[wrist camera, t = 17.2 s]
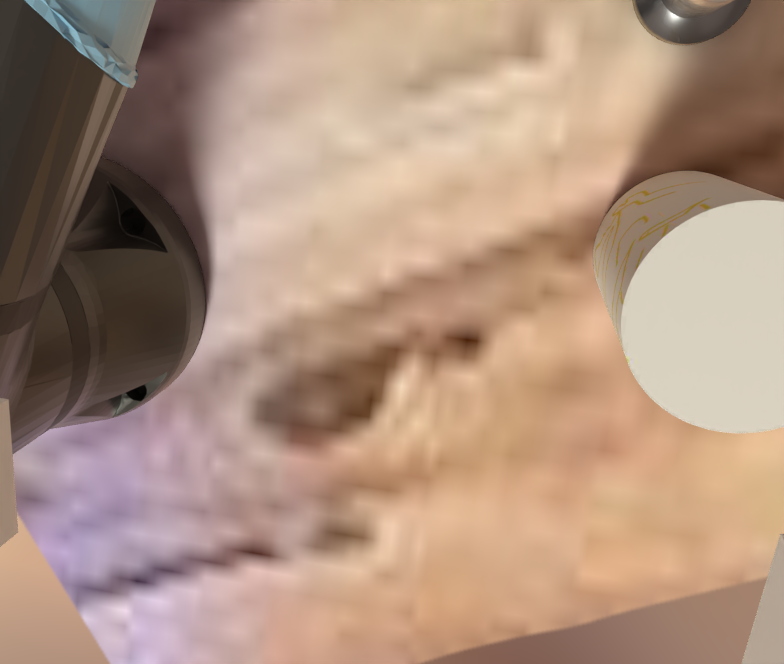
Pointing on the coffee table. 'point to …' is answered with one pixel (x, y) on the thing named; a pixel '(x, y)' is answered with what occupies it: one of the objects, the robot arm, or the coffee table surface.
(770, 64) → the coffee table surface
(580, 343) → the coffee table surface
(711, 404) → the cup
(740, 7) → the post
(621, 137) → the coffee table surface
